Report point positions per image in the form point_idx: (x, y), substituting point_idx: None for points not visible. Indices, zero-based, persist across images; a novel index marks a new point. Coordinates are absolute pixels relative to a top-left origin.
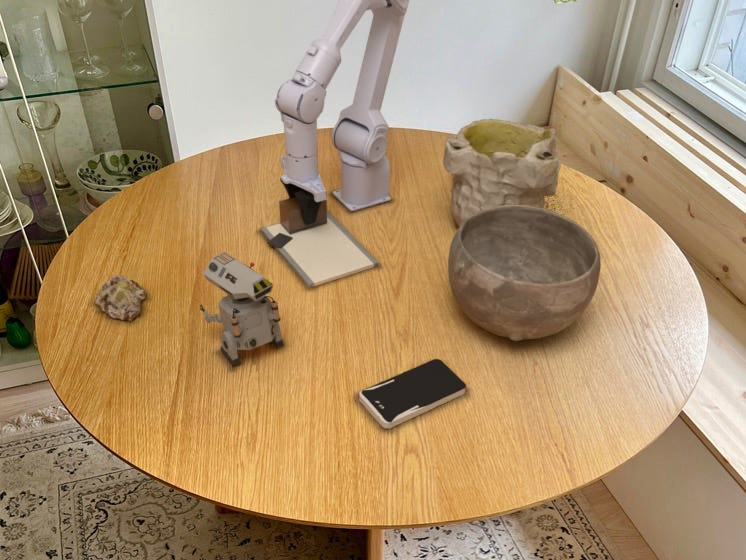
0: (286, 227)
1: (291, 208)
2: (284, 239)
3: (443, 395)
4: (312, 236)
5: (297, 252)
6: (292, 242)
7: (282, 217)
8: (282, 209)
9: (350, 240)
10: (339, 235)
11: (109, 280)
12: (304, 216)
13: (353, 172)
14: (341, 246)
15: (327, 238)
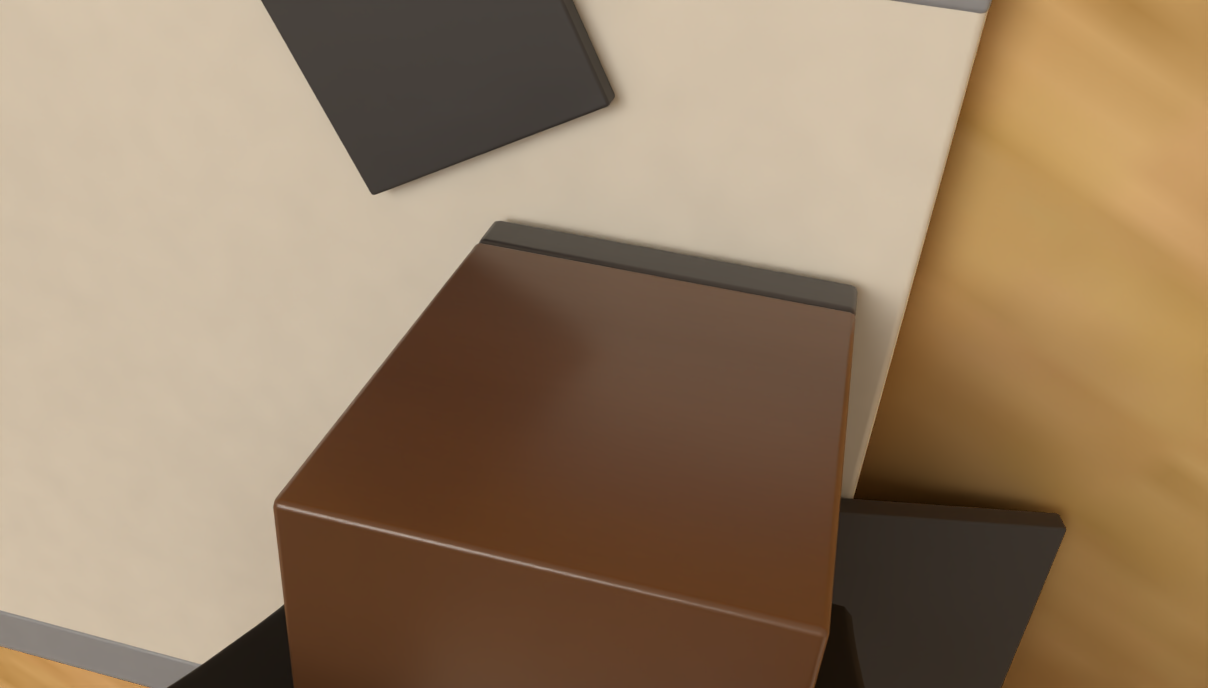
0: (593, 270)
1: (342, 609)
2: (375, 50)
3: None
4: (312, 419)
5: (20, 19)
6: (290, 119)
7: (722, 368)
8: (648, 489)
9: (86, 633)
10: (213, 626)
11: None
12: (282, 605)
13: None
14: (6, 511)
15: (201, 511)
